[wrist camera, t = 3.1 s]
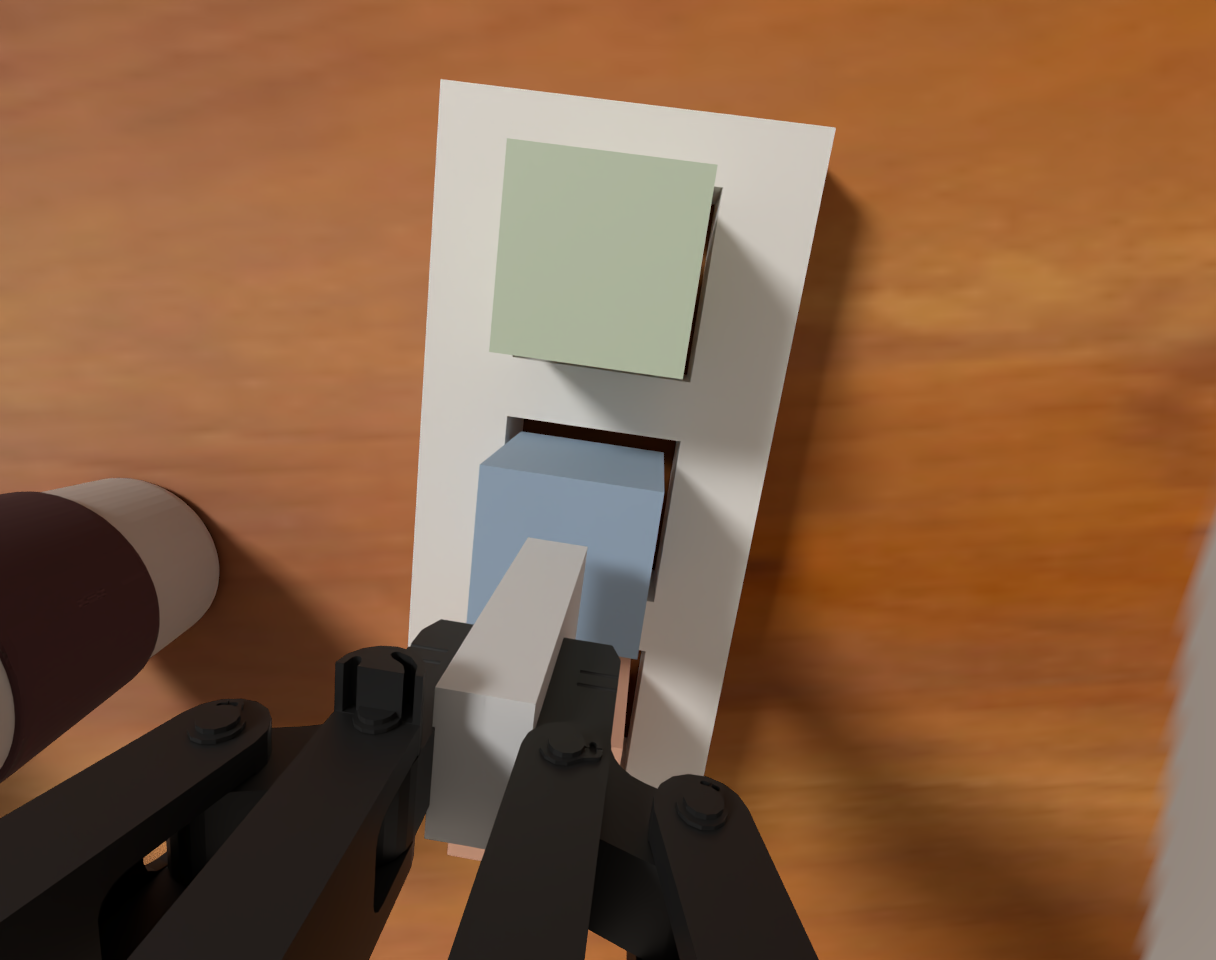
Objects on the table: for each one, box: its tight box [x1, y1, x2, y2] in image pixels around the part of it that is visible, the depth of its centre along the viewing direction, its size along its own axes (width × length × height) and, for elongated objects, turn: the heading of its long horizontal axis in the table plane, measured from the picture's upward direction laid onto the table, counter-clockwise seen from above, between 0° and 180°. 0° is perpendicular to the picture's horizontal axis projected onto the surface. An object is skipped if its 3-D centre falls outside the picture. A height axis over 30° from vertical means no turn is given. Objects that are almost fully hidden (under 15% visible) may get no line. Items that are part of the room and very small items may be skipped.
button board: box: [408, 79, 836, 789], centre depth 24 cm, size 12×26×3 cm, turn 172°
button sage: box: [489, 138, 718, 379], centre depth 18 cm, size 5×5×5 cm
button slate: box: [467, 431, 664, 659], centre depth 20 cm, size 5×5×5 cm
